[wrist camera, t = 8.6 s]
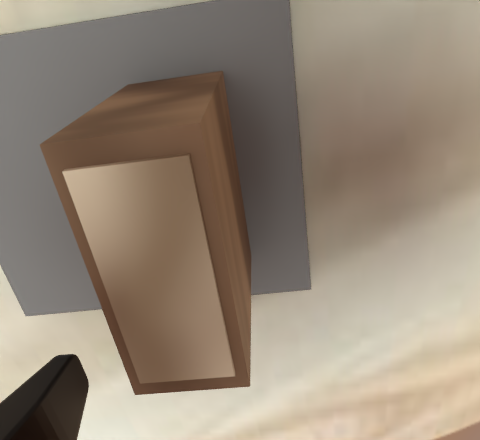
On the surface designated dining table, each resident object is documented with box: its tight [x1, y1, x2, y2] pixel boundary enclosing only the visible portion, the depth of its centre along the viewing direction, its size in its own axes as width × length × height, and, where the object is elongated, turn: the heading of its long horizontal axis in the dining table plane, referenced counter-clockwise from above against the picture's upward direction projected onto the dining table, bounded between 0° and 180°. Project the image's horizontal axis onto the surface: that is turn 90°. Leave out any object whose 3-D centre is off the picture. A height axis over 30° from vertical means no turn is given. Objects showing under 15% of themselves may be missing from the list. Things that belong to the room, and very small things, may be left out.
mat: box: [0, 0, 311, 316], centre depth 19 cm, size 16×14×1 cm
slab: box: [40, 71, 251, 395], centre depth 15 cm, size 4×9×8 cm, turn 8°
